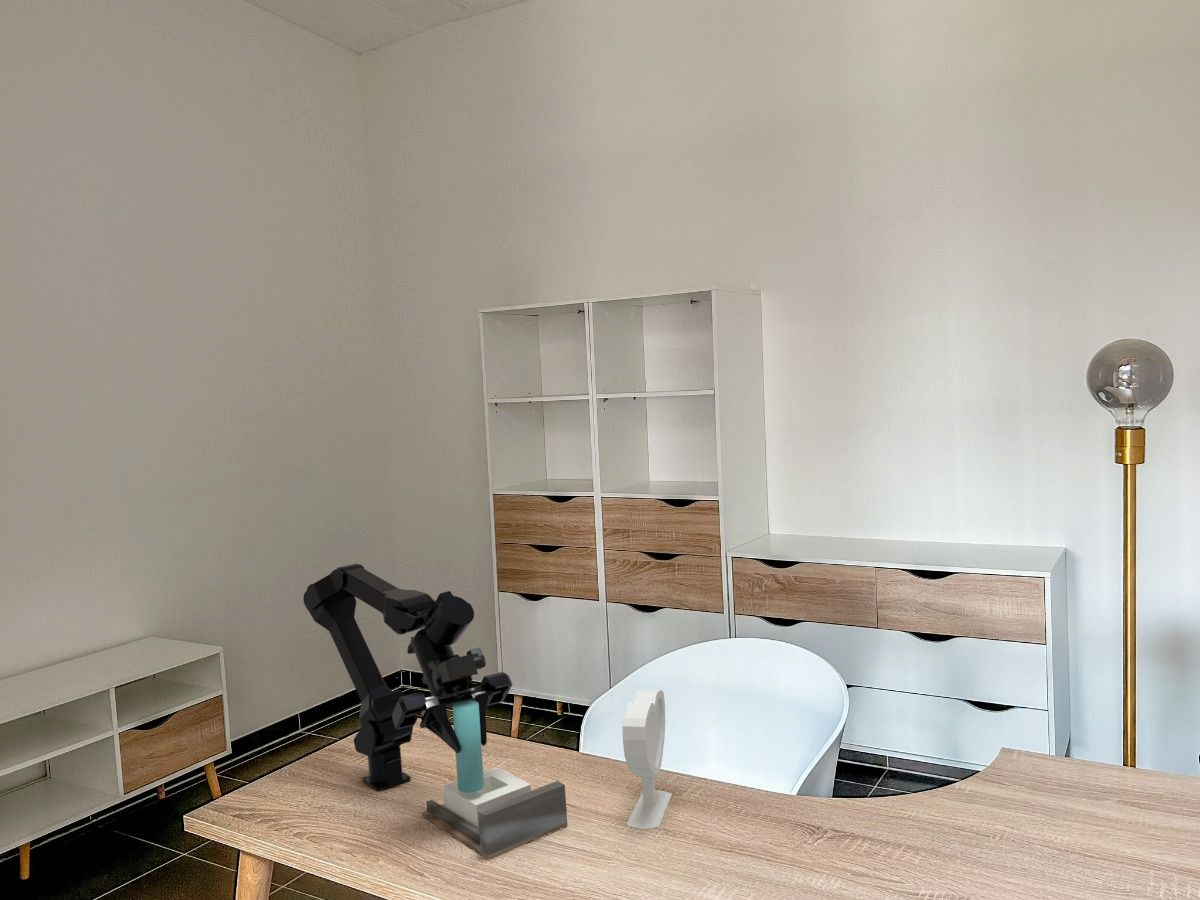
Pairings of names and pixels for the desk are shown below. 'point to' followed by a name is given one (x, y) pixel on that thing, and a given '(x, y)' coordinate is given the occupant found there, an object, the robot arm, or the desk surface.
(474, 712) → the dowel
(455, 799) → the socket block
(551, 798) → the rail board
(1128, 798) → the desk surface
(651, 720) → the heart sculpture
